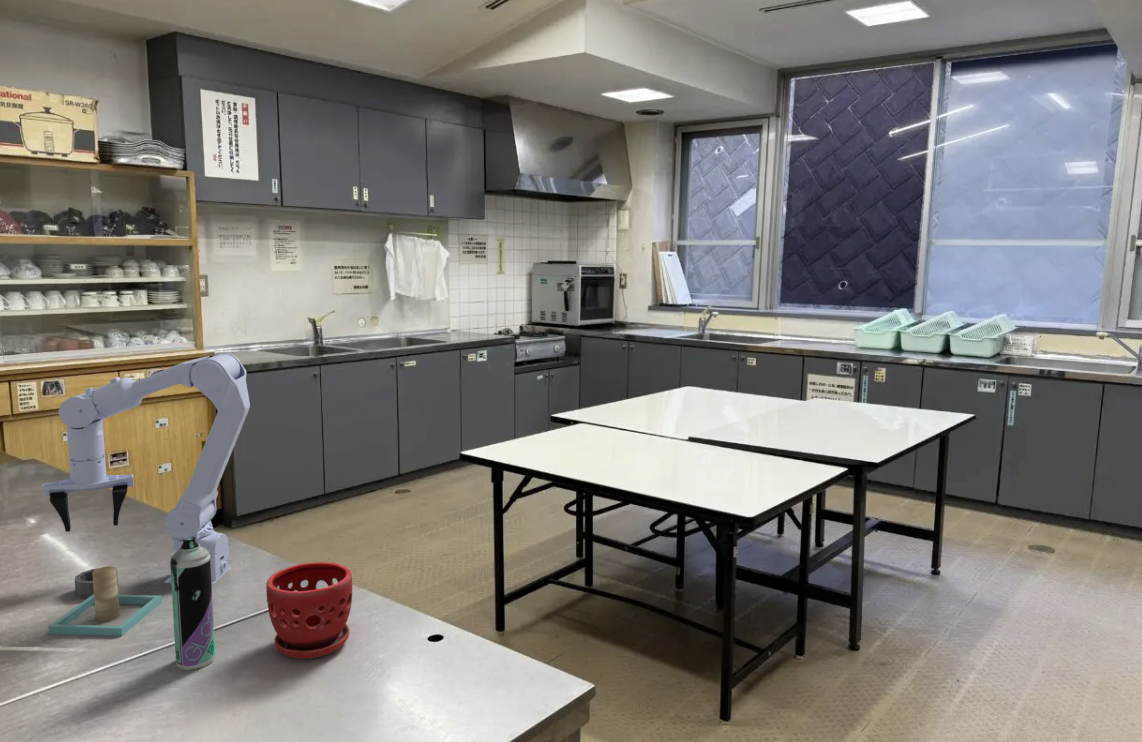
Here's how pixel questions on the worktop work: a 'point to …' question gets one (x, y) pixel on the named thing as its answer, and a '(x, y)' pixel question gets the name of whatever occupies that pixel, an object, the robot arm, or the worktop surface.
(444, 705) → the worktop surface
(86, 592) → the dark gray cup
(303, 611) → the plant pot
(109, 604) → the birch dowel
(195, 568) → the spray can
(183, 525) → the robot arm
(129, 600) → the teal tray
